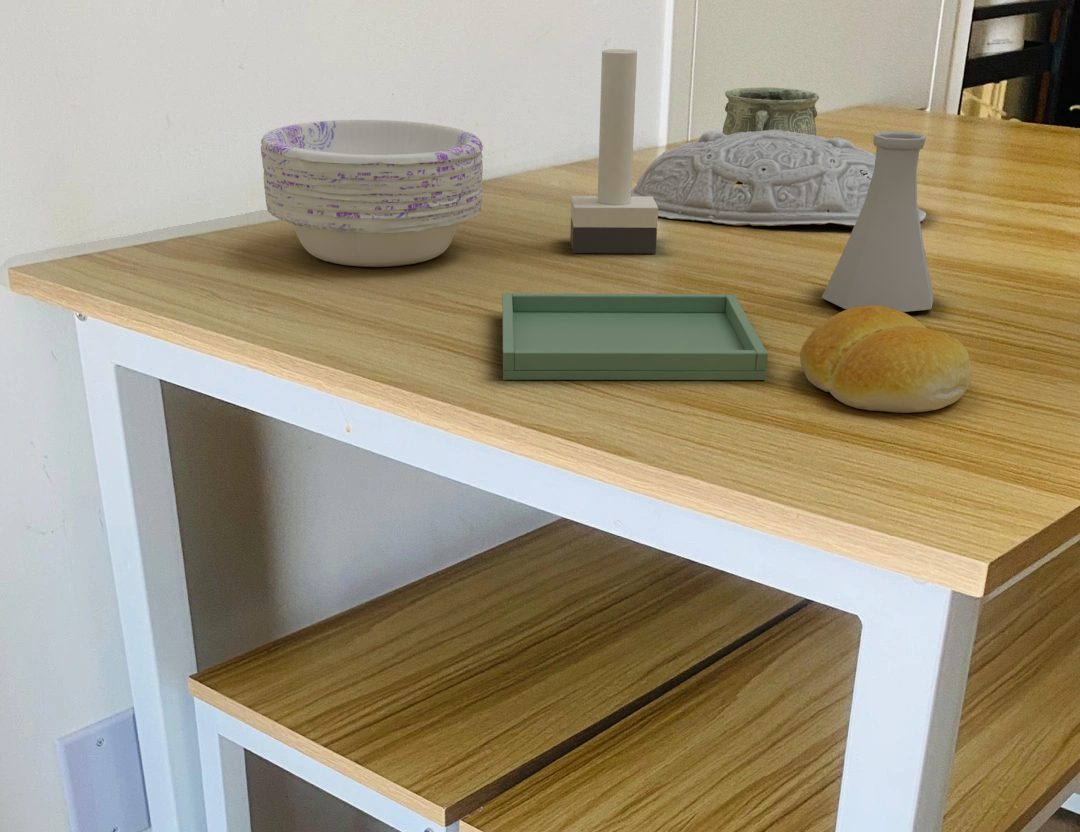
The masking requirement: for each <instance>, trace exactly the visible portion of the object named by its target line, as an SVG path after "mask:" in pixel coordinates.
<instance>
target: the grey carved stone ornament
mask: <svg viewBox="0 0 1080 832" xmlns="http://www.w3.org/2000/svg"><path fill="white" fill-rule="evenodd" d="M875 159H876V154H874V153H872V152H870V151H868V150H866V149H863V148H860V147H858V146H855V145H854V144H853V143H852V142H851V141H850V140H849V139H846V138H843V137H840V136H839V137H838V136H837V137H830V138H826V137H824V136H819V135H816V136H815V135H808V134H804V133H803V134H802V133H796V132H792V133H791V132H790V131H788V132H787V131H782V130H767V131H756V132H739V133H735V134H731V135H725V134H723V131H720V130H711V131H706V132H704V133H702V134H701V136H699V138H698V140H696V141H691V142H688V143H684V144H682V145H678V146H677V147H674V148H672V149H668V150H665V151H663V152H662V153H661V154H660V155H659V156H658V157H657V158H655V159H654V160H653V161H652V162H651V163H650V164H649V165H648V167H647V168H646V169H645V171H644V172H643V173H642V175H641V176H640V177H639V178H638V180H637V181H636V185H635V186H634V187H633V188H631V196H650V197H653V198H654V201H655V203H656V205H657V207H658V217H659V218H660V217H661V218H664V219H665V218H666V219H670V220H685V221H686V220H687V221H699V222H712V223H714V224H724V225H731V226H747V225H751V226H752V227H754V226H755V227H759V226H762V227H763V226H767V227H769V226H770V227H771V226H773V227H776V226H789V225H790V226H792V225H825V224H837V225H843V226H853V227H854V226H855V224H856V221H857V219H858V217H859V214H860V212H861V210H862V207H863V205H864V203H865V200H866V196H867V193H868V189H869V186H870V182H871V179H872V176H873V172H874V166H875ZM735 185H738V186H735ZM918 212H919V218H920V223H921V222H923V221H925V220H926V217H927V216H926V215H927V212H925V211H924V210H922V209H920V208H918Z"/></svg>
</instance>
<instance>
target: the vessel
mask: <svg viewBox="0 0 1080 832" xmlns="http://www.w3.org/2000/svg"><path fill="white" fill-rule="evenodd" d="M724 95H725V97H726V98H727V100H728V101H727V103H726V104H725V107H724V112H726V116H725V119H724V123H723V127H722V132H723V134H725V135H731V134H735V133H739V132H756V131H767V130H782V131H787V132H788V131H790V132H791V133H792V132H796V133H802V134H803V133H804V134H808V135H815V136H817V126H816V118H817V117H818V111H817V110H818V109H817V108H816V103H817V102H818V101H819V99H820V95H819V94H818V93H817V92H813V91H808V90H803V89H795V88H785V87H771V86H770V87H769V86H767V87H766V86H765V87H764V86H763V87H740V88H733V89H729V90H726V91H725V92H724Z"/></svg>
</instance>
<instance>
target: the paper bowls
mask: <svg viewBox="0 0 1080 832" xmlns="http://www.w3.org/2000/svg"><path fill="white" fill-rule="evenodd" d="M260 144H261V146H260V155H261V160H262V161H261V163H262V169H263V188H264V196H265V205H266V209H267V212H268V213H270V214H271V216H272V217H274V218H276V219H278V220H280V221H281V220H282V221H284V222H287V223H289V224H291V225H292V228H293V230H294V232H295V234H296V236H297V238H298V240H299V242H300V244H301V246H302V247H303V249H304V250H306V252H307V253H309V254H310V255H311V256H313V257H315V258H316V259H319V260H321V261H324V262H329V263H332V264H337V265H341V266H350V267H351V266H352V267H361V268H389V267H400V266H406V265H407V266H408V265H414V264H415V265H416V264H418V263H424V262H426V261H430V260H432V259H435V258H437V257H439V256H440V255H443V254H444V253H445V252H446V250H448V248H449V247H450V245H451V244H452V241H453V239H454V237H455V235H456V232H457V230H458V227H459V224H460V223H463V222H465V221H468V220H471V219H472V218H474V217H477V216H478V215H479V214H480V213H481V211H482V204H483V203H482V202H483V192H484V191H483V183H484V181H483V172H484V171H483V168H484V167H483V157H484V155H483V148H484V145H483V143H482V141H481V139H480V138H479V137H478V136H477V135H475V134H474V133H471V132H469V131H466V130H463V129H459V128H456V127H451V126H445V125H441V124H440V125H439V124H434V123H425V122H418V121H417V122H416V121H415V122H414V121H407V120H406V121H405V120H404V121H402V120H390V119H387V120H386V119H336V120H334V119H333V120H320V121H311V122H303V123H296V124H295V123H294V124H290V125H286V126H281V127H277V128H275V129H272V130H270V131H268V132H266V133H265V134H264V135H263V136H262V138H261V142H260Z"/></svg>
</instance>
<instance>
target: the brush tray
mask: <svg viewBox="0 0 1080 832" xmlns="http://www.w3.org/2000/svg"><path fill="white" fill-rule="evenodd" d="M501 298H502V299H501V301H502V302H501V303H502V304H501V305H502V307H501V308H502V313H501V315H502V317H501V318H502V319H501V320H502V321H501V322H502V380H504V381H766V377H767V367H768V357H769V356H768V355H769V353H768V351H767V349H766V347H765V346H764V344H763V342H762V341H761V338H760V337H759V335H758V333H757V331H756V330H755V328H754V326H753V324H752V322H751V321H750V319H749V317H748V316H747V314H746V312H745V310H744V309H743V306H742V305H741V304H740V301H739V300H738V298H737V296H736V295H735V293H726V294H724V293H538V292H537V293H533V292H532V293H531V292H530V293H523V292H522V293H521V292H520V293H517V292H516V293H514V292H513V293H510V292H509V293H508V292H503V293H501Z"/></svg>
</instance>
